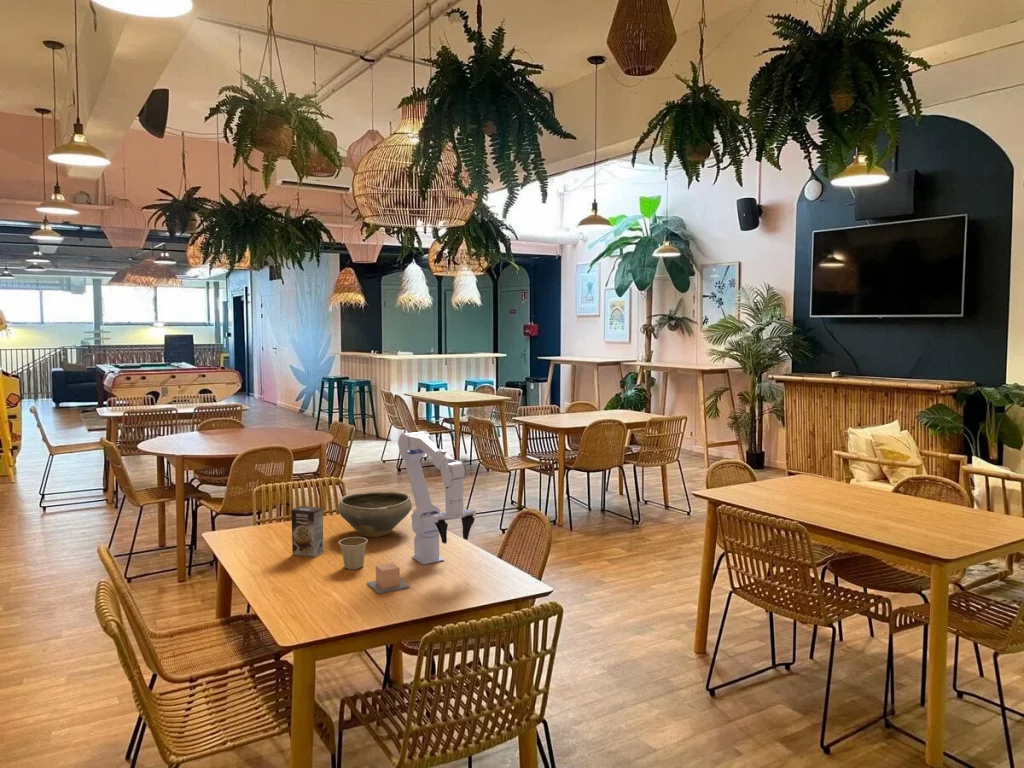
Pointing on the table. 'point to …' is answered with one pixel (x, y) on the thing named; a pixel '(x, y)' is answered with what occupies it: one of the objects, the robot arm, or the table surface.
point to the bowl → (374, 511)
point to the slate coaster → (389, 589)
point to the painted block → (387, 575)
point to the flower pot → (353, 551)
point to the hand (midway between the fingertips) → (454, 540)
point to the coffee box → (307, 531)
